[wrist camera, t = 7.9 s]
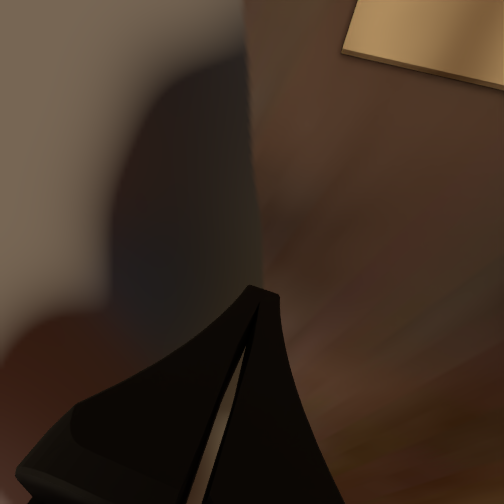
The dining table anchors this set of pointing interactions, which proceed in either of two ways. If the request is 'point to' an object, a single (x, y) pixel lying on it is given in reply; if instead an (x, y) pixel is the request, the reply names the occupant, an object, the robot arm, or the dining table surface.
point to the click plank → (432, 37)
